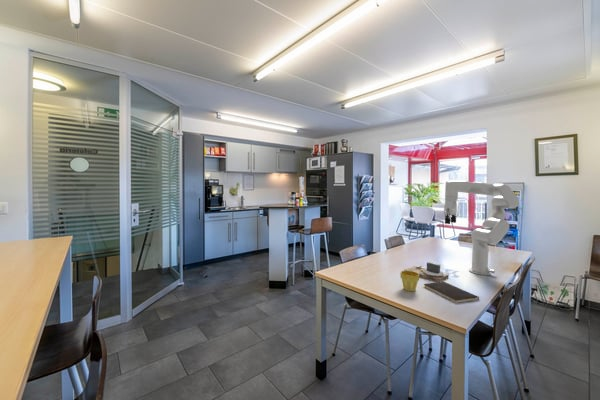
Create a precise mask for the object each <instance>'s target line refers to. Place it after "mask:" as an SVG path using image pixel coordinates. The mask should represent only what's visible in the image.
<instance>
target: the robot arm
mask: <svg viewBox="0 0 600 400" xmlns="http://www.w3.org/2000/svg"><path fill="white" fill-rule="evenodd" d="M459 193H465V194H471V195H472V194H473V195H481V196H483V195H484V196H489V197H490V196H491V197H492V199H491V206H492V211H491V212H490V214H489V215H488V216H487V217H486V219H484V221H483V223H482V228H475V229H473V230H472V231H471V234H470V235H471V241H472V249H471V253H472V254H471V267H470V268H468V271H469V272H470V273H472V274H476V275H480V276H481V275H482V276H489V275H491V274H496V271H495V270H494V269H491V268H490V266H489V252H490V251H489V249H490V248H489V246H488V245H494V246H495V245H498V243H499V242H500V241H501V240H502V239H503V238H504V237H505V236H506V235H507V233H508V232H509V231H510V223H509V222H508V220H505V218H506V215H507V214H506V211H505V209H515V208H517V207H518V206H519V204H520V201H519V198H518V196H517V194H515V192H514V191H513V190H512V188H511V187H510V186H509V185H507V184H506V183H488V182H481V181H480V182H479V181H478V182H477V181H473V182H472V181H471V182H470V181H468V180H447V181H446V182H445V191H444V200H445V201H444V208H443V214H444V224H448V225H450V224H451V223H454V224H456V223H457V213H458V205H457V202H458V198H459Z"/></svg>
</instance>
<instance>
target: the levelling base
mask: <svg viewBox="0 0 600 400" xmlns="http://www.w3.org/2000/svg"><path fill="white" fill-rule="evenodd" d="M420 269H423V270H424V269H426V267H424V266H423V267H422V266H421V265H413V266H411V267H408V268H404V270H403V271H414V272H417V273H418V274H419V278H423V279H426V280H430V281H433V282H435V283H436V282H444V281H445V280H446V279H449V274H447V273H444V272H443V276H442V277H433V276H429V275H426V274H424V273H423V271H422V270H420Z"/></svg>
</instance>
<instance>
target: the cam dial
mask: <svg viewBox="0 0 600 400" xmlns="http://www.w3.org/2000/svg"><path fill="white" fill-rule="evenodd" d="M420 270H422V271H423V273H424V274H426V275H429V276H433V277H442V276H443V273H444V272H443V271H441V264H438V263H434V262H430V261H428V262H426V268H425V269H424V270H423V269H420Z"/></svg>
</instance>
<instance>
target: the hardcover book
mask: <svg viewBox="0 0 600 400" xmlns="http://www.w3.org/2000/svg"><path fill="white" fill-rule="evenodd" d="M423 285H424V288H426V289H427V290H429V291H431V292H433V293H436V294H438V295H440V296H441V297H444V298H446V299H448V300H449V301H451V302H453V303H456V304H457V303H458V304H459V303H464V302H465V303H466V302H472V301H479V300H480V297H479V296H478V295H475V294H473V293H471V292H468V291H466V290H464V289H463V288H459V287H458V286H455V285H453V284H451V283H448V282H446V281H441V282H436V281H435V282H429V283H423Z"/></svg>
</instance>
